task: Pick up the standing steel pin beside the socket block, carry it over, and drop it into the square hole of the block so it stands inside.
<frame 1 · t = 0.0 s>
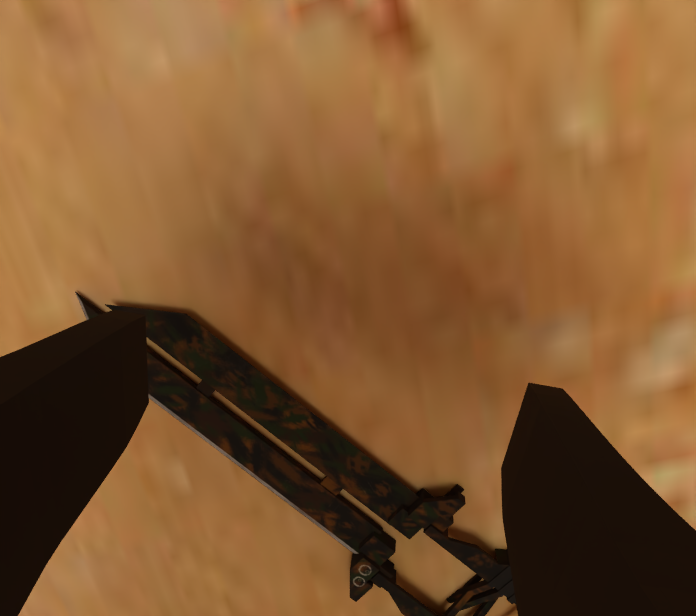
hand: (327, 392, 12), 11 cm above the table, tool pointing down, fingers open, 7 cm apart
knife: (339, 485, 25), on the table
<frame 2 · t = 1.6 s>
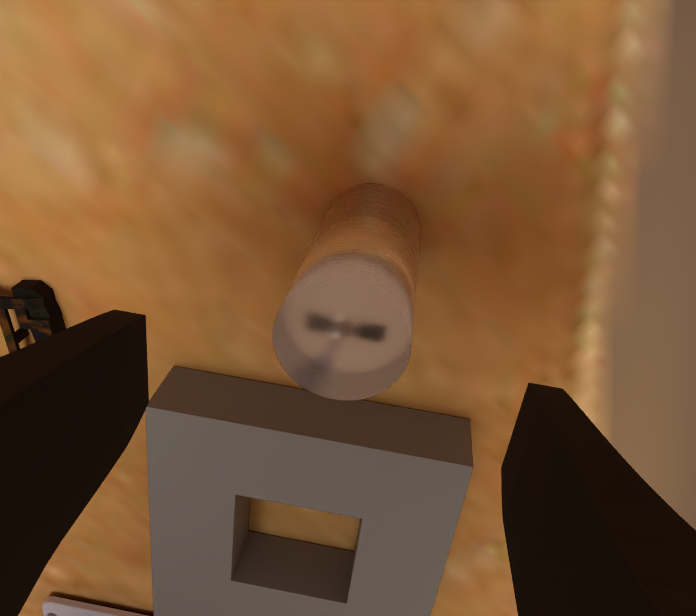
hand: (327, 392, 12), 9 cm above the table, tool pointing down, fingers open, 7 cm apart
steel pin: (372, 230, 19), on the table
socket block: (306, 501, 25), on the table
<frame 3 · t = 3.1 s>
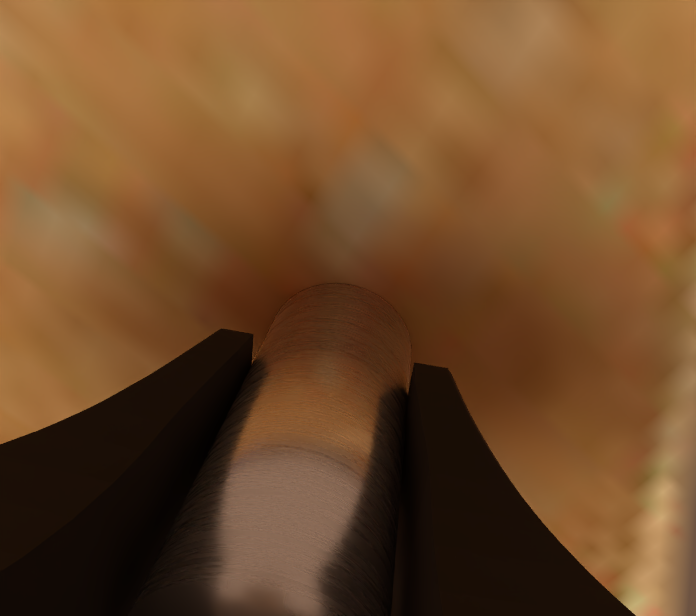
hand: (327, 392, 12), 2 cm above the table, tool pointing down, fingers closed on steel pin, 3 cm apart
steel pin: (339, 348, 13), on the table, touching gripper
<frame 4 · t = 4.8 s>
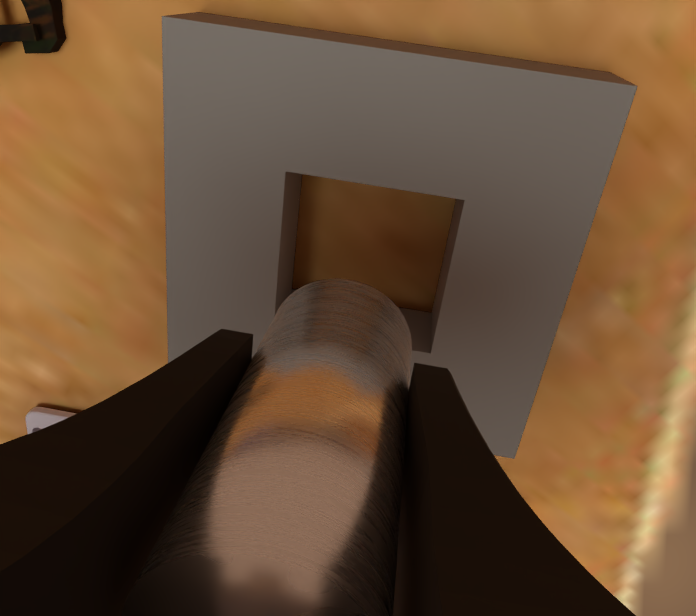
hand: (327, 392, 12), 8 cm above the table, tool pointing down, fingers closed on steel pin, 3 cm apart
steel pin: (340, 343, 13), point 7 cm above the table, touching gripper
socket block: (371, 234, 19), on the table
when the fingers open (4 cm above the table, at t = 6.6 s): steel pin drops 2 cm, resting in socket block.
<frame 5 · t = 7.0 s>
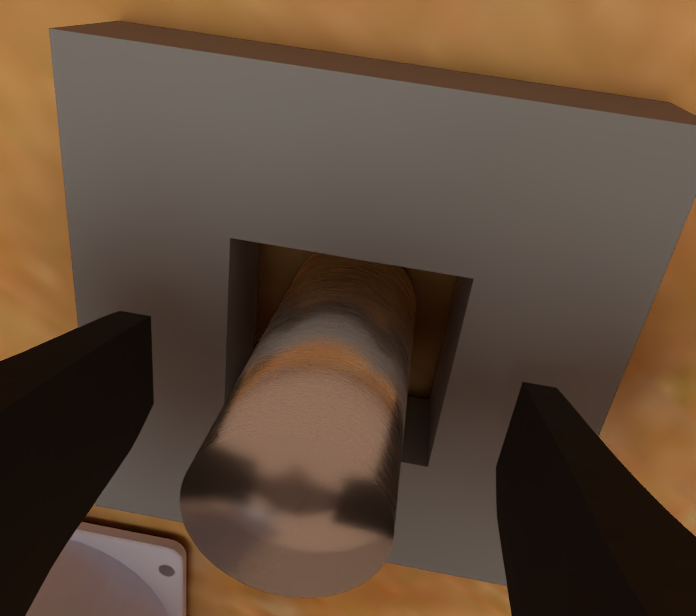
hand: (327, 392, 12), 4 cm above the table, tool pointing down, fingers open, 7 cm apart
steel pin: (352, 302, 15), resting in socket block
socket block: (351, 305, 15), on the table
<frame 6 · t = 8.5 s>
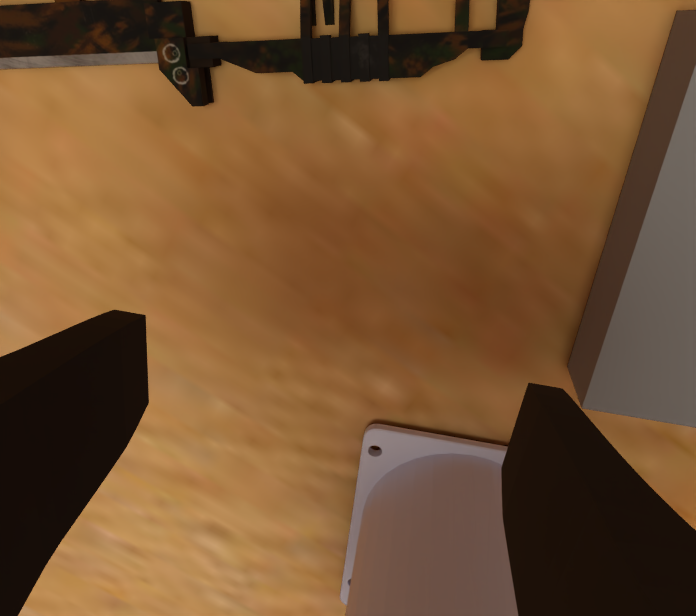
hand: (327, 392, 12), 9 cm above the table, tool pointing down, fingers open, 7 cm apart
knife: (101, 6, 19), on the table
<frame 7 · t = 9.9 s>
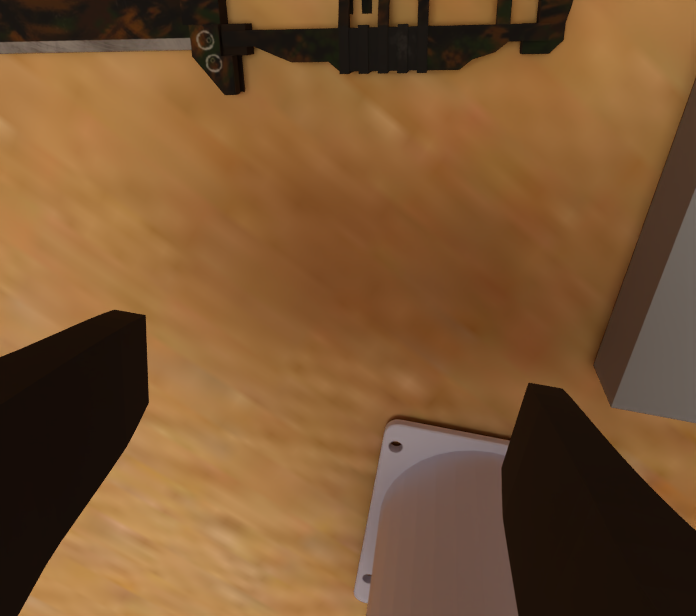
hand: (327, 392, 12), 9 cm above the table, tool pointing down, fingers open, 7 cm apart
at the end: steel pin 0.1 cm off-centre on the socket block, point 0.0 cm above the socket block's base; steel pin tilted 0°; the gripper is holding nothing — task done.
